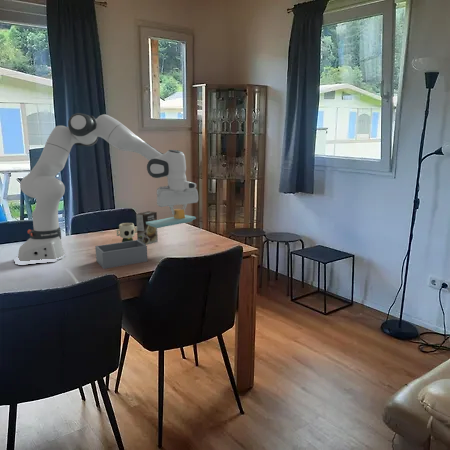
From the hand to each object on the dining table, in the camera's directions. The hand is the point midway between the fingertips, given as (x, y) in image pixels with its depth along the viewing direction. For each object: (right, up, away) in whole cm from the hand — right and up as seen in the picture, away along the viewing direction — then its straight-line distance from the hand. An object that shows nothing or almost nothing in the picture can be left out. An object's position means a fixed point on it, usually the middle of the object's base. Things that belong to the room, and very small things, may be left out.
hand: (178, 213), depth 211 cm
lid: (-3, -5, -2) cm, 6 cm away
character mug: (-26, -18, +11) cm, 33 cm away
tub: (-25, -23, -10) cm, 35 cm away
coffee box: (-19, -15, +23) cm, 33 cm away
